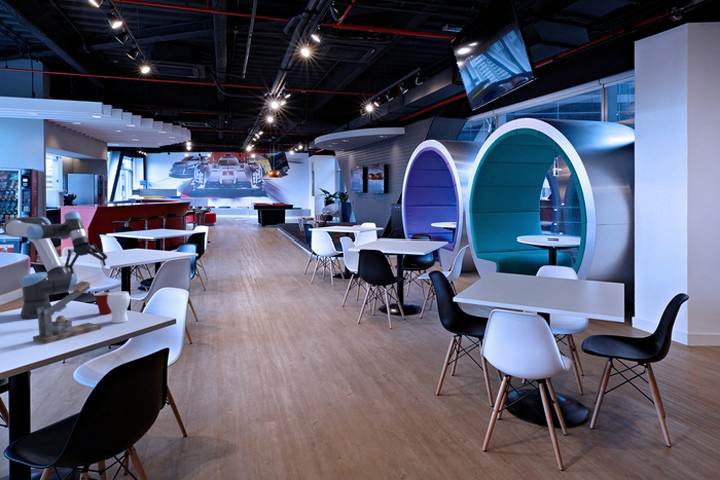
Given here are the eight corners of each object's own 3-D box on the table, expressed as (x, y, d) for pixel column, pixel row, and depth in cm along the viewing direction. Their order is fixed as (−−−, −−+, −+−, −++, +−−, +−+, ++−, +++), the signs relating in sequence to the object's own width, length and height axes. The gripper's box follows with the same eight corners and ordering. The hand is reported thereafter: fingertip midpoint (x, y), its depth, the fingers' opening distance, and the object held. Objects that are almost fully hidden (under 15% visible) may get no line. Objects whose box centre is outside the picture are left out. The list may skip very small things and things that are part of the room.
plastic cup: (111, 310, 273) (110, 289, 272) (119, 312, 267) (118, 292, 265) (91, 313, 265) (90, 292, 264) (99, 316, 258) (98, 295, 257)
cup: (104, 322, 247) (102, 294, 246) (122, 317, 257) (120, 290, 255) (117, 324, 242) (115, 296, 241) (135, 319, 252) (133, 292, 250)
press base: (45, 343, 212) (43, 311, 210) (33, 340, 216) (30, 308, 215) (100, 329, 235) (98, 299, 233) (88, 326, 239) (86, 297, 238)
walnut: (54, 324, 222) (53, 316, 221) (62, 322, 225) (62, 314, 225) (59, 325, 220) (58, 317, 219) (68, 323, 223) (67, 315, 223)
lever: (50, 319, 215) (45, 311, 213) (43, 317, 218) (37, 309, 216) (93, 289, 233) (88, 282, 230) (85, 288, 235) (81, 281, 233)
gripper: (52, 242, 246) (63, 279, 243) (104, 231, 260) (116, 267, 257) (53, 246, 252) (64, 283, 249) (104, 236, 266) (115, 271, 263)
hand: (90, 275), depth 253 cm, fingers open, 13 cm apart
